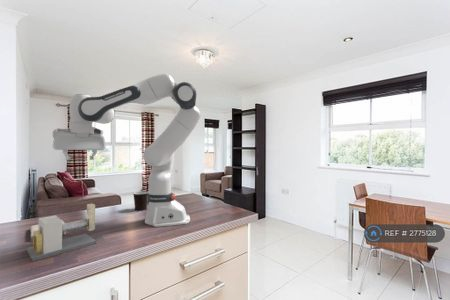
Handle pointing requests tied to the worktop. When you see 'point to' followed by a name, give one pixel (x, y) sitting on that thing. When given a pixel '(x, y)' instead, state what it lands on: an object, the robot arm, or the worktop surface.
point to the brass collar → (37, 241)
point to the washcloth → (35, 227)
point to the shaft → (82, 221)
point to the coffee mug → (140, 200)
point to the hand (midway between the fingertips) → (80, 159)
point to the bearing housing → (57, 239)
